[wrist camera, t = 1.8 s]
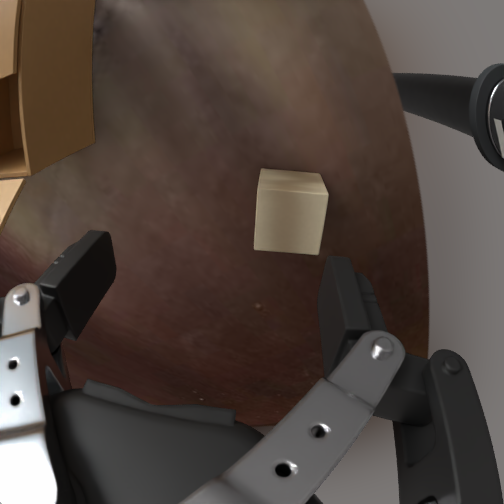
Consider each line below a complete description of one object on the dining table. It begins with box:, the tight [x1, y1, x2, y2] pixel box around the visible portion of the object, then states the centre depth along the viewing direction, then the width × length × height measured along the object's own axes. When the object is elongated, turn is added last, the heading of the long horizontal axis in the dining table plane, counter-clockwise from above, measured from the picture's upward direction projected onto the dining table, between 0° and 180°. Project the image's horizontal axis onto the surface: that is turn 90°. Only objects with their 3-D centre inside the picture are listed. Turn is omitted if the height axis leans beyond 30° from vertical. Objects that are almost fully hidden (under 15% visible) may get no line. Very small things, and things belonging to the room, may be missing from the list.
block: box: [254, 168, 329, 255], centre depth 25 cm, size 5×5×5 cm
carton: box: [0, 0, 95, 179], centre depth 17 cm, size 15×12×10 cm
